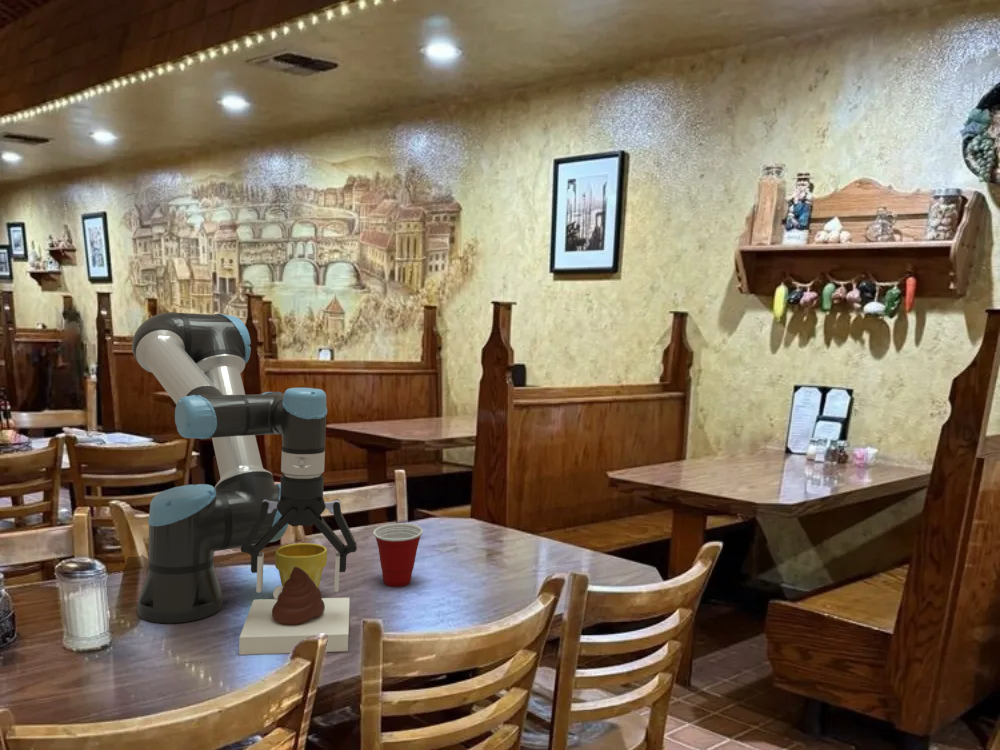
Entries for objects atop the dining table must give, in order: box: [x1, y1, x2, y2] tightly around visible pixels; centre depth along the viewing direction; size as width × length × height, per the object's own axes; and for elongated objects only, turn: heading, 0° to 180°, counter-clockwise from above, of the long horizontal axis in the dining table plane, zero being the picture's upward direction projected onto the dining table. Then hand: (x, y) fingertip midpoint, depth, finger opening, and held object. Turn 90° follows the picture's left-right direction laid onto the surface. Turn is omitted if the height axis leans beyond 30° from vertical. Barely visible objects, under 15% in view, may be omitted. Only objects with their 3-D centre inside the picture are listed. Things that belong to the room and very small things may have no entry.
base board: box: [238, 597, 351, 656], centre depth 140 cm, size 18×18×3 cm
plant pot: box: [274, 542, 328, 590], centre depth 158 cm, size 10×10×10 cm
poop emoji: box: [272, 567, 325, 625], centre depth 140 cm, size 10×8×9 cm
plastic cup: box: [372, 522, 424, 588], centre depth 169 cm, size 11×11×12 cm
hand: (298, 589), depth 140 cm, fingers open, 13 cm apart
